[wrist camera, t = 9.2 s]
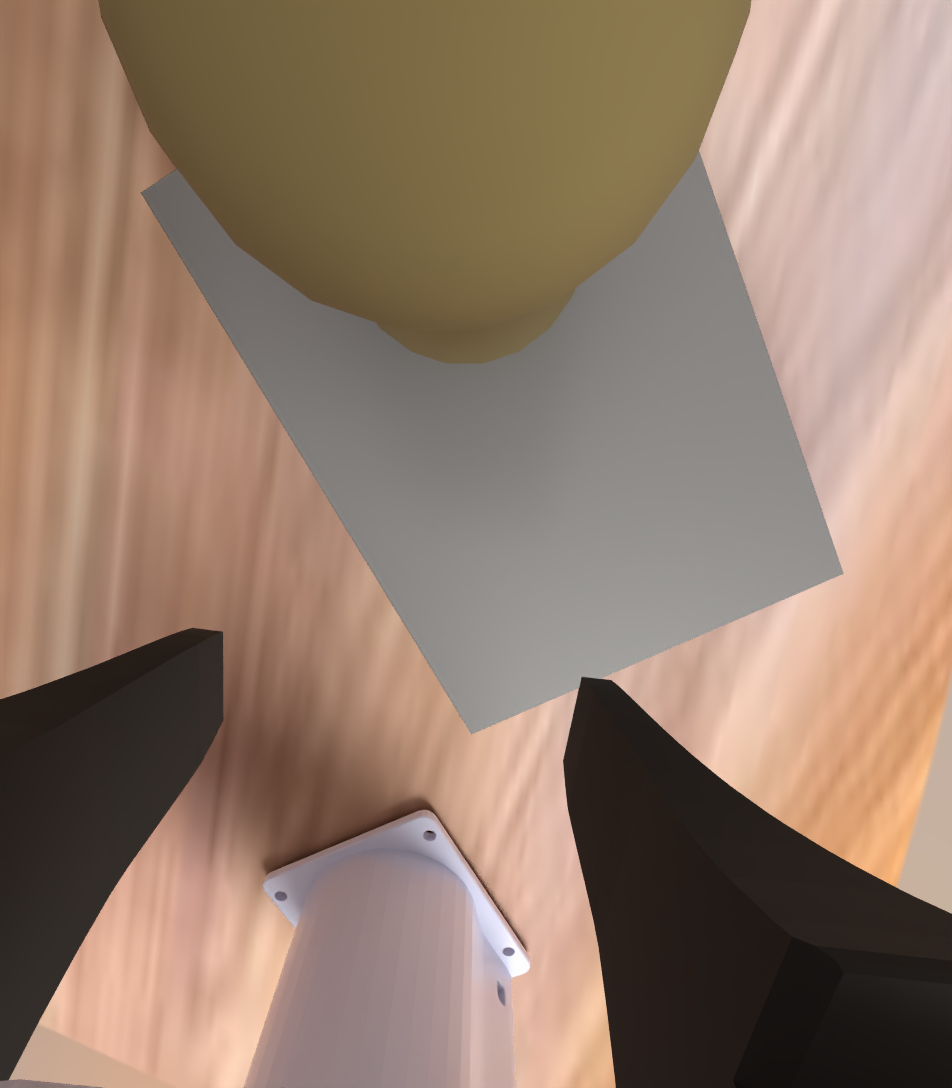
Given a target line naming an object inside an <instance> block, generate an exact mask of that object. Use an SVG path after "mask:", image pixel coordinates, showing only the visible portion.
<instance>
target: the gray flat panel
mask: <svg viewBox="0 0 952 1088" xmlns="http://www.w3.org/2000/svg"><path fill="white" fill-rule="evenodd" d="M141 194H142V196H143V197H144V199H145V200H146V202H147V204H148V205H149V207H150V209H151V210H152V212H153V214H154V215H155V217H156V218H157V220H158V222H159V223H160V225H161V227H162V228H163V230H164V232H165V233H166V235H167V236H168V238H169V240H170V241H171V243H172V245H173V246H174V248H175V250H176V251H177V253H178V255H179V256H180V258H181V259H182V261H183V263H184V264H185V266H186V268H187V269H188V271H189V273H190V274H191V276H192V277H193V279H194V281H195V282H196V284H197V286H198V287H199V289H200V291H201V292H202V294H203V295H204V297H205V299H206V300H207V302H208V304H209V305H210V307H211V309H212V310H213V312H214V313H215V315H216V317H217V318H218V320H219V322H220V323H221V325H222V327H223V328H224V330H225V331H226V333H227V335H228V336H229V338H230V340H231V341H232V343H233V345H234V346H235V348H236V350H237V351H238V353H239V354H240V356H241V358H242V359H243V361H244V363H245V364H246V366H247V368H248V369H249V371H250V372H251V374H252V376H253V377H254V379H255V381H256V382H257V384H258V386H259V387H260V389H261V390H262V392H263V394H264V395H265V397H266V399H267V400H268V402H269V404H270V405H271V407H272V408H273V410H274V412H275V413H276V415H277V417H278V418H279V420H280V422H281V423H282V425H283V427H284V428H285V430H286V431H287V433H288V435H289V436H290V438H291V440H292V441H293V443H294V445H295V446H296V448H297V449H298V451H299V453H300V454H301V456H302V458H303V459H304V461H305V463H306V464H307V466H308V467H309V469H310V471H311V472H312V474H313V476H314V477H315V479H316V481H317V482H318V484H319V485H320V487H321V489H322V490H323V492H324V494H325V495H326V497H327V499H328V500H329V502H330V503H331V505H332V507H333V508H334V510H335V512H336V513H337V515H338V517H339V518H340V520H341V522H342V523H343V525H344V526H345V528H346V530H347V531H348V533H349V535H350V536H351V538H352V540H353V541H354V543H355V544H356V546H357V548H358V549H359V551H360V553H361V554H362V556H363V558H364V559H365V561H366V562H367V564H368V566H369V567H370V569H371V571H372V572H373V574H374V576H375V577H376V579H377V580H378V582H379V584H380V585H381V587H382V589H383V590H384V592H385V594H386V595H387V597H388V599H389V600H390V602H391V603H392V605H393V607H394V608H395V610H396V612H397V613H398V615H399V617H400V618H401V620H402V621H403V623H404V625H405V626H406V628H407V630H408V631H409V633H410V635H411V636H412V638H413V639H414V641H415V643H416V644H417V646H418V648H419V649H420V651H421V653H422V654H423V656H424V657H425V659H426V661H427V662H428V664H429V666H430V667H431V669H432V671H433V672H434V674H435V675H436V677H437V679H438V680H439V682H440V684H441V685H442V687H443V689H444V690H445V692H446V694H447V695H448V697H449V698H450V700H451V702H452V703H453V705H454V707H455V708H456V710H457V712H458V713H459V715H460V716H461V718H462V720H463V721H464V723H465V725H466V726H467V728H468V730H469V731H470V733H471V734H473V733H475V732H478V731H480V730H482V729H485V728H487V727H489V726H492V725H494V724H496V723H499V722H501V721H503V720H506V719H508V718H510V717H513V716H515V715H517V714H520V713H522V712H524V711H526V710H529V709H531V708H533V707H536V706H538V705H540V704H543V703H545V702H547V701H550V700H552V699H554V698H557V697H559V696H561V695H564V694H566V693H568V692H570V691H573V690H575V689H577V688H579V686H580V682H581V677H589V678H597V679H601V678H603V677H605V676H608V675H610V674H612V673H615V672H617V671H619V670H621V669H624V668H626V667H628V666H631V665H633V664H635V663H638V662H640V661H642V660H645V659H647V658H649V657H652V656H654V655H656V654H659V653H661V652H663V651H665V650H668V649H670V648H672V647H675V646H677V645H679V644H682V643H684V642H686V641H689V640H691V639H693V638H696V637H698V636H700V635H703V634H705V633H707V632H710V631H712V630H714V629H716V628H719V627H721V626H723V625H726V624H728V623H730V622H733V621H735V620H737V619H740V618H742V617H744V616H747V615H749V614H751V613H754V612H756V611H758V610H761V609H763V608H765V607H767V606H770V605H772V604H774V603H777V602H779V601H781V600H784V599H786V598H788V597H791V596H793V595H795V594H798V593H800V592H802V591H805V590H807V589H809V588H811V587H814V586H816V585H818V584H821V583H823V582H825V581H828V580H830V579H832V578H835V577H837V576H839V575H842V574H843V571H842V568H841V565H840V562H839V559H838V556H837V553H836V550H835V547H834V544H833V541H832V539H831V536H830V533H829V530H828V527H827V524H826V521H825V518H824V515H823V512H822V509H821V506H820V503H819V501H818V498H817V495H816V492H815V489H814V486H813V483H812V480H811V477H810V474H809V471H808V468H807V465H806V463H805V460H804V457H803V454H802V451H801V448H800V445H799V442H798V439H797V436H796V433H795V430H794V427H793V425H792V422H791V419H790V416H789V413H788V410H787V407H786V404H785V401H784V398H783V395H782V392H781V389H780V387H779V384H778V381H777V378H776V375H775V372H774V369H773V366H772V363H771V360H770V357H769V354H768V351H767V349H766V346H765V343H764V340H763V337H762V334H761V331H760V328H759V325H758V322H757V319H756V316H755V313H754V311H753V308H752V305H751V302H750V299H749V296H748V293H747V290H746V287H745V284H744V281H743V278H742V275H741V273H740V270H739V267H738V264H737V261H736V258H735V255H734V252H733V249H732V246H731V243H730V240H729V237H728V235H727V232H726V229H725V226H724V223H723V220H722V217H721V214H720V211H719V208H718V205H717V202H716V199H715V197H714V194H713V191H712V188H711V185H710V182H709V179H708V176H707V173H706V170H705V167H704V164H703V162H702V159H701V156H700V153H699V151H698V153H697V156H696V158H695V160H694V162H693V163H692V164H691V166H690V167H689V169H688V170H687V171H686V173H685V174H684V175H683V177H682V178H681V180H680V181H679V182H678V184H677V185H676V186H675V188H674V189H673V191H672V192H671V193H670V195H669V196H668V197H667V199H666V200H665V202H664V203H663V204H662V206H661V207H660V208H659V210H658V211H657V213H656V214H655V215H654V217H653V218H652V219H651V221H650V222H649V224H648V225H647V226H646V228H645V229H644V230H643V232H642V233H641V235H640V236H639V237H638V239H637V240H636V241H635V243H634V244H632V245H631V246H630V247H628V248H627V249H626V250H625V251H623V252H622V253H621V254H619V255H618V256H617V257H615V258H614V259H613V260H611V261H610V262H609V263H608V264H606V265H605V266H604V267H602V268H601V269H600V270H598V271H597V272H596V273H594V274H593V275H592V276H591V277H589V278H588V279H587V280H585V281H584V282H583V283H581V284H580V285H579V286H577V287H576V289H575V292H574V295H573V296H572V298H571V299H570V301H569V302H568V303H567V305H566V306H565V308H564V309H563V310H562V312H561V313H560V315H559V316H558V317H557V319H556V320H555V322H554V323H553V324H552V326H551V327H550V328H549V329H548V330H547V331H545V332H544V333H543V334H541V335H540V336H539V337H537V338H536V339H535V340H533V341H532V342H531V343H530V344H528V345H527V346H526V347H524V348H523V349H522V350H520V351H519V352H516V353H513V354H510V355H507V356H504V357H501V358H499V359H496V360H493V361H490V362H487V363H484V364H446V363H443V362H440V361H437V360H434V359H431V358H428V357H425V356H422V355H420V354H417V353H414V352H411V351H410V350H408V349H407V348H406V347H404V346H403V345H402V344H400V343H399V342H398V341H396V340H395V339H394V338H392V337H391V336H390V335H388V334H387V333H386V332H384V331H383V330H382V329H380V327H379V326H378V325H377V323H376V322H373V321H370V320H367V319H364V318H361V317H358V316H356V315H353V314H350V313H347V312H344V311H341V310H338V309H335V308H332V307H329V306H326V305H323V304H320V303H317V302H314V301H311V300H310V299H309V298H307V297H306V296H305V295H303V294H302V293H300V292H299V291H298V290H296V289H295V288H294V287H292V286H291V285H290V284H288V283H287V282H286V281H284V280H283V279H281V278H280V277H279V276H277V275H276V274H275V273H273V272H272V271H271V270H269V269H268V268H267V267H265V266H264V265H262V264H261V263H260V262H258V261H257V260H256V259H254V258H253V257H252V256H250V255H249V254H248V253H246V252H245V251H243V250H242V249H241V248H239V247H238V246H237V245H235V243H234V242H233V241H232V239H231V238H230V237H229V236H228V234H227V233H226V232H225V230H224V229H223V228H222V226H221V225H220V224H219V223H218V221H217V220H216V219H215V217H214V216H213V215H212V213H211V212H210V211H209V210H208V208H207V207H206V206H205V204H204V203H203V202H202V200H201V199H200V198H199V197H198V195H197V194H196V193H195V191H194V190H193V189H192V188H191V186H190V185H189V184H188V182H187V181H186V180H185V178H184V177H183V176H182V175H181V173H180V172H179V171H178V169H176V170H175V171H173V172H172V173H170V174H169V175H167V176H166V177H164V178H163V179H161V180H159V181H158V182H156V183H155V184H153V185H152V186H150V187H149V188H147V189H146V190H144V191H143V192H141Z"/></svg>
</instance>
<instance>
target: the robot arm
mask: <svg viewBox="0 0 952 1088" xmlns="http://www.w3.org/2000/svg"><path fill="white" fill-rule="evenodd" d="M222 722H223V632H220V631H212V630H204V629H196V628H191V629H187V630H184V631H181V632H178V633H175V634H172V635H169V636H167V637H164V638H162V639H159V640H157V641H154V642H152V643H149V644H147V645H144V646H142V647H140V648H137V649H135V650H132V651H130V652H127V653H125V654H122V655H120V656H117V657H115V658H113V659H110V660H108V661H105V662H103V663H100V664H98V665H95V666H93V667H90V668H88V669H85V670H82V671H79V672H77V673H74V674H71V675H69V676H66V677H63V678H61V679H58V680H55V681H52V682H50V683H47V684H44V685H42V686H39V687H36V688H34V689H31V690H28V691H25V692H22V693H19V694H16V695H13V696H10V697H6V698H3V699H0V1088H101V1087H90V1086H81V1085H70V1084H60V1083H51V1082H41V1081H31V1080H9V1078H10V1076H11V1074H12V1072H13V1071H14V1068H15V1066H16V1065H17V1063H18V1061H19V1059H20V1057H21V1055H22V1053H23V1051H24V1049H25V1047H26V1045H27V1043H28V1041H29V1040H30V1037H31V1036H32V1034H33V1031H34V1030H35V1028H36V1026H37V1024H38V1022H39V1020H40V1018H41V1017H42V1015H43V1013H44V1011H45V1009H46V1007H47V1006H48V1004H49V1002H50V1000H51V998H52V996H53V995H54V993H55V991H56V989H57V987H58V986H59V984H60V982H61V980H62V978H63V976H64V975H65V973H66V971H67V969H68V967H69V965H70V964H71V962H72V960H73V958H74V956H75V954H76V953H77V951H78V949H79V947H80V946H81V944H82V942H83V940H84V939H85V937H86V935H87V934H88V932H89V930H90V928H91V927H92V925H93V923H94V921H95V920H96V918H97V916H98V914H99V913H100V911H101V909H102V908H103V906H104V904H105V902H106V901H107V899H108V897H109V895H110V894H111V892H112V891H113V889H114V888H115V886H116V885H117V883H118V881H119V880H120V878H121V877H122V875H123V874H124V872H125V871H126V869H127V868H128V866H129V865H130V863H131V862H132V861H133V859H134V858H135V856H136V855H137V854H138V852H139V851H140V849H141V848H142V847H143V845H144V844H145V842H146V841H147V840H148V838H149V837H150V835H151V834H152V833H153V831H154V830H155V828H156V827H157V825H158V824H159V823H160V821H161V820H162V818H163V817H164V816H165V814H166V813H167V811H168V810H169V809H170V807H171V806H172V804H173V803H174V802H175V800H176V799H177V797H178V796H179V794H180V793H181V792H182V790H183V789H184V787H185V786H186V784H187V783H188V782H189V780H190V779H191V777H192V776H193V774H194V773H195V771H196V770H197V768H198V767H199V765H200V764H201V762H202V760H203V758H204V757H205V755H206V753H207V751H208V749H209V747H210V745H211V744H212V742H213V740H214V738H215V736H216V734H217V732H218V730H219V728H220V726H221V724H222ZM563 764H564V775H565V787H566V796H567V805H568V811H569V816H570V820H571V825H572V829H573V834H574V838H575V843H576V847H577V851H578V856H579V860H580V864H581V868H582V873H583V877H584V881H585V886H586V890H587V894H588V898H589V903H590V907H591V911H592V916H593V920H594V925H595V931H596V936H597V941H598V946H599V953H600V961H601V968H602V976H603V983H604V991H605V998H606V1006H607V1014H608V1023H609V1031H610V1040H611V1048H612V1057H613V1065H614V1074H615V1083H616V1088H952V914H951V913H949V912H947V911H944V910H942V909H940V908H938V907H936V906H934V905H931V904H929V903H927V902H925V901H923V900H920V899H918V898H916V897H914V896H912V895H910V894H908V893H906V892H904V891H902V890H900V889H898V888H896V887H894V886H892V885H890V884H888V883H887V882H885V881H883V880H881V879H879V878H877V877H875V876H873V875H871V874H869V873H867V872H866V871H864V870H862V869H860V868H858V867H856V866H854V865H853V864H851V863H849V862H847V861H845V860H844V859H842V858H840V857H838V856H837V855H835V854H833V853H831V852H829V851H828V850H826V849H824V848H823V847H821V846H819V845H818V844H816V843H815V842H813V841H811V840H810V839H808V838H806V837H805V836H803V835H802V834H800V833H798V832H797V831H795V830H793V829H792V828H790V827H789V826H787V825H785V824H784V823H782V822H781V821H779V820H778V819H776V818H775V817H773V816H772V815H770V814H769V813H767V812H766V811H764V810H763V809H762V808H760V807H759V806H757V805H756V804H755V803H753V802H752V801H750V800H749V799H748V798H746V797H745V796H743V795H742V794H741V793H739V792H738V791H736V790H735V789H734V788H732V787H731V786H730V785H728V784H727V783H726V782H725V781H723V780H722V779H721V778H719V777H718V776H717V775H716V774H714V773H713V772H712V771H711V770H710V769H708V768H707V767H706V766H705V765H704V764H702V763H701V762H700V761H699V760H698V759H696V758H695V757H694V756H693V755H692V754H691V753H689V752H688V751H687V750H686V749H685V748H684V747H683V746H681V745H680V744H679V743H678V742H677V741H676V740H675V739H674V738H673V737H671V736H670V735H669V734H668V733H667V732H666V731H665V730H664V729H663V728H662V727H661V726H660V725H659V724H658V723H657V722H655V721H654V720H653V719H652V718H651V717H650V716H649V715H648V714H647V713H646V712H645V711H644V710H643V709H642V708H641V707H640V706H639V705H638V704H637V703H636V702H635V701H634V700H633V699H632V698H631V697H630V696H629V695H627V694H626V693H625V692H624V691H623V690H622V689H621V688H620V687H619V686H618V685H617V684H615V683H614V682H613V681H612V680H605V679H597V678H589V677H581V682H580V686H579V691H578V696H577V700H576V705H575V709H574V714H573V718H572V723H571V728H570V732H569V737H568V741H567V746H566V750H565V755H564V760H563ZM429 830H430V831H434V833H428V832H426V831H429ZM263 889H264V891H265V892H266V893H267V895H268V896H269V897H270V898H271V899H272V901H273V902H274V903H275V904H276V906H277V907H278V908H279V909H280V910H281V912H282V913H283V914H284V915H285V917H286V918H287V919H288V920H289V921H290V923H291V924H292V925H293V926H294V927H295V932H294V935H293V938H292V941H291V944H290V948H289V951H288V954H287V957H286V960H285V963H284V966H283V969H282V972H281V975H280V978H279V981H278V984H277V987H276V990H275V993H274V996H273V999H272V1003H271V1006H270V1009H269V1012H268V1015H267V1018H266V1021H265V1024H264V1027H263V1030H262V1033H261V1036H260V1039H259V1042H258V1045H257V1048H256V1051H255V1054H254V1058H253V1061H252V1064H251V1067H250V1070H249V1073H248V1076H247V1079H246V1082H245V1085H244V1088H516V1067H515V1045H514V1024H513V1002H512V981H511V978H512V977H515V976H518V975H521V974H524V973H525V972H527V971H528V970H529V969H530V957H529V955H528V953H527V952H526V950H525V949H524V947H523V946H522V944H521V943H520V941H519V940H518V938H517V937H516V935H515V934H514V932H513V931H512V929H511V928H510V926H509V925H508V923H507V922H506V920H505V919H504V917H503V916H502V914H501V913H500V911H499V910H498V908H497V907H496V905H495V904H494V902H493V901H492V899H491V898H490V896H489V895H488V893H487V892H486V890H485V889H484V887H483V886H482V884H481V883H480V881H479V880H478V878H477V877H476V875H475V874H474V872H473V871H472V869H471V868H470V866H469V865H468V863H467V862H466V860H465V859H464V857H463V856H462V854H461V853H460V851H459V850H458V848H457V847H456V845H455V844H454V842H453V841H452V839H451V838H450V836H449V835H448V833H447V832H446V830H445V829H444V827H443V826H442V824H441V823H440V821H439V820H438V818H437V817H436V815H435V814H434V813H433V812H431V811H429V810H420V811H417V812H414V813H412V814H409V815H407V816H405V817H402V818H400V819H397V820H395V821H393V822H390V823H388V824H385V825H383V826H380V827H378V828H376V829H373V830H371V831H368V832H366V833H364V834H361V835H359V836H356V837H354V838H352V839H349V840H347V841H344V842H342V843H340V844H337V845H335V846H332V847H330V848H327V849H325V850H323V851H320V852H318V853H315V854H313V855H311V856H308V857H306V858H303V859H301V860H299V861H296V862H294V863H291V864H289V865H287V866H284V867H282V868H279V869H277V870H275V871H272V872H270V873H268V874H267V876H266V877H265V880H264V882H263ZM281 891H282V892H281ZM284 892H285V893H284Z"/></svg>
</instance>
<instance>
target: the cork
mask: <svg viewBox="0 0 952 1088" xmlns="http://www.w3.org/2000/svg"><path fill="white" fill-rule="evenodd" d="M99 6H100V12H101V18H102V20H103V22H104V25H105V27H106V29H107V32H108V34H109V36H110V39H111V41H112V43H113V46H114V48H115V50H116V53H117V55H118V57H119V60H120V62H121V64H122V67H123V69H124V71H125V74H126V76H127V78H128V81H129V83H130V85H131V88H132V90H133V92H134V95H135V97H136V99H137V102H138V104H139V107H140V109H141V111H142V114H143V116H144V118H145V121H146V123H147V125H148V128H149V130H150V132H151V133H152V135H153V136H154V138H155V139H156V140H157V142H158V143H159V145H160V146H161V147H162V149H163V150H164V152H165V153H166V154H167V156H168V157H169V159H170V160H171V161H172V163H173V164H174V165H175V167H176V168H177V169H178V171H179V172H180V173H181V175H182V176H183V177H184V178H185V180H186V181H187V182H188V184H189V185H190V186H191V188H192V189H193V190H194V191H195V193H196V194H197V195H198V197H199V198H200V199H201V200H202V202H203V203H204V204H205V206H206V207H207V208H208V210H209V211H210V212H211V213H212V215H213V216H214V217H215V219H216V220H217V221H218V223H219V224H220V225H221V226H222V228H223V229H224V230H225V232H226V233H227V234H228V236H229V237H230V238H231V239H232V241H233V242H234V243H235V245H237V246H238V247H239V248H241V249H242V250H243V251H245V252H246V253H248V254H249V255H250V256H252V257H253V258H254V259H256V260H257V261H258V262H260V263H261V264H262V265H264V266H265V267H267V268H268V269H269V270H271V271H272V272H273V273H275V274H276V275H277V276H279V277H280V278H281V279H283V280H284V281H286V282H287V283H288V284H290V285H291V286H292V287H294V288H295V289H296V290H298V291H299V292H300V293H302V294H303V295H305V296H306V297H307V298H309V299H310V300H311V301H314V302H317V303H320V304H323V305H326V306H329V307H332V308H335V309H338V310H341V311H344V312H347V313H350V314H353V315H356V316H358V317H361V318H364V319H367V320H370V321H373V322H376V323H377V325H378V326H379V327H380V329H382V330H383V331H384V332H386V333H387V334H388V335H390V336H391V337H392V338H394V339H395V340H396V341H398V342H399V343H400V344H402V345H403V346H404V347H406V348H407V349H408V350H410V351H411V352H414V353H417V354H420V355H422V356H425V357H428V358H431V359H434V360H437V361H440V362H443V363H446V364H484V363H487V362H490V361H493V360H496V359H499V358H501V357H504V356H507V355H510V354H513V353H516V352H519V351H520V350H522V349H523V348H524V347H526V346H527V345H528V344H530V343H531V342H532V341H533V340H535V339H536V338H537V337H539V336H540V335H541V334H543V333H544V332H545V331H547V330H548V329H549V328H550V327H551V326H552V324H553V323H554V322H555V320H556V319H557V317H558V316H559V315H560V313H561V312H562V310H563V309H564V308H565V306H566V305H567V303H568V302H569V301H570V299H571V298H572V296H573V295H574V292H575V289H576V287H577V286H579V285H580V284H581V283H583V282H584V281H585V280H587V279H588V278H589V277H591V276H592V275H593V274H594V273H596V272H597V271H598V270H600V269H601V268H602V267H604V266H605V265H606V264H608V263H609V262H610V261H611V260H613V259H614V258H615V257H617V256H618V255H619V254H621V253H622V252H623V251H625V250H626V249H627V248H628V247H630V246H631V245H632V244H634V243H635V241H636V240H637V239H638V237H639V236H640V235H641V233H642V232H643V230H644V229H645V228H646V226H647V225H648V224H649V222H650V221H651V219H652V218H653V217H654V215H655V214H656V213H657V211H658V210H659V208H660V207H661V206H662V204H663V203H664V202H665V200H666V199H667V197H668V196H669V195H670V193H671V192H672V191H673V189H674V188H675V186H676V185H677V184H678V182H679V181H680V180H681V178H682V177H683V175H684V174H685V173H686V171H687V170H688V169H689V167H690V166H691V164H692V163H693V162H694V160H695V158H696V156H697V153H698V151H699V148H700V145H701V143H702V140H703V138H704V135H705V132H706V130H707V127H708V124H709V122H710V119H711V117H712V114H713V111H714V109H715V106H716V103H717V101H718V98H719V96H720V93H721V90H722V88H723V85H724V83H725V80H726V77H727V75H728V72H729V69H730V67H731V64H732V62H733V59H734V56H735V54H736V51H737V48H738V45H739V42H740V39H741V36H742V33H743V30H744V27H745V25H746V22H747V19H748V16H749V13H750V6H751V0H99Z"/></svg>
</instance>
